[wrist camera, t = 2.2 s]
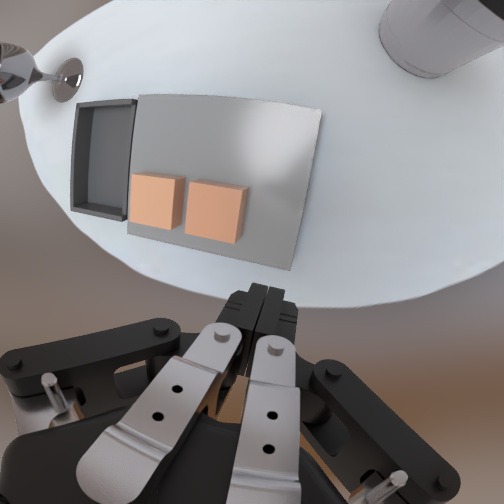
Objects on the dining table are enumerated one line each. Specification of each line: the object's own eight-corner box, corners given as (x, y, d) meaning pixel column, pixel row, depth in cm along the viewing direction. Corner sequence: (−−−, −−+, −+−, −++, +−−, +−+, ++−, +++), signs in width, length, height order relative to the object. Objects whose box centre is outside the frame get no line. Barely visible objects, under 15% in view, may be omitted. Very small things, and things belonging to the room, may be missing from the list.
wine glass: (80, 45, 27) (2, 28, 13) (89, 84, 29) (2, 75, 15) (48, 76, 29) (-27, 72, 15) (56, 115, 31) (-25, 119, 17)
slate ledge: (152, 98, 28) (138, 94, 26) (320, 114, 26) (321, 110, 23) (140, 226, 34) (127, 233, 31) (292, 260, 32) (289, 270, 29)
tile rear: (144, 171, 28) (131, 174, 26) (185, 176, 28) (175, 179, 25) (141, 215, 30) (129, 221, 28) (181, 223, 30) (170, 230, 27)
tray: (94, 104, 30) (76, 103, 27) (148, 102, 29) (131, 98, 25) (87, 205, 35) (70, 210, 32) (137, 214, 34) (121, 221, 30)
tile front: (199, 178, 28) (189, 181, 25) (248, 187, 27) (242, 190, 25) (194, 226, 29) (184, 233, 27) (240, 236, 29) (234, 244, 26)
